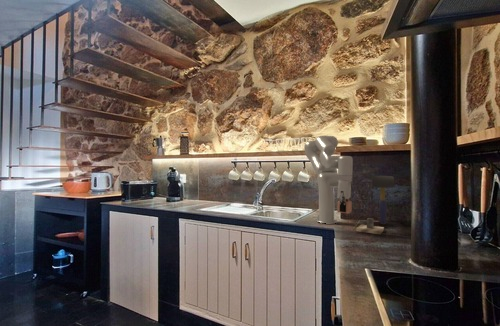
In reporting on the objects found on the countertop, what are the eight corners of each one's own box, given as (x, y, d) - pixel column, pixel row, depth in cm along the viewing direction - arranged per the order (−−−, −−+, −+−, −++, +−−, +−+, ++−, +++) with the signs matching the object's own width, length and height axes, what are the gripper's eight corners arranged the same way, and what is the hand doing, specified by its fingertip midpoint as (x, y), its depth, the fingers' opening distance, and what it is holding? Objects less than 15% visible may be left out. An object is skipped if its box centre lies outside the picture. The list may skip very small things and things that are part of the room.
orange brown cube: (337, 212, 143) (337, 201, 143) (340, 210, 148) (340, 200, 148) (348, 213, 140) (348, 202, 140) (351, 211, 145) (351, 201, 145)
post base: (356, 231, 143) (356, 219, 143) (361, 227, 152) (361, 215, 152) (380, 234, 136) (380, 221, 136) (383, 230, 145) (383, 218, 145)
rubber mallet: (393, 223, 162) (393, 175, 163) (395, 226, 155) (395, 175, 156) (371, 222, 167) (371, 175, 167) (372, 224, 160) (372, 175, 160)
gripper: (342, 177, 153) (342, 207, 153) (333, 178, 139) (332, 212, 139) (356, 177, 149) (355, 209, 149) (347, 179, 134) (347, 214, 135)
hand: (344, 210), depth 144 cm, fingers closed on orange brown cube, 6 cm apart
